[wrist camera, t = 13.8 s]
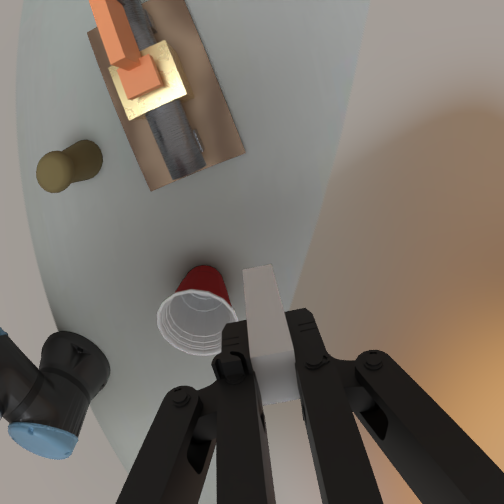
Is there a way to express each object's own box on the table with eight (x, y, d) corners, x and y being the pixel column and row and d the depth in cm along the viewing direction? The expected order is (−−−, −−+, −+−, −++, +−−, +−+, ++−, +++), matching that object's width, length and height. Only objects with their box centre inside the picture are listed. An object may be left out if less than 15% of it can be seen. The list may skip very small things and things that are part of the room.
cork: (64, 144, 40) (25, 156, 30) (99, 135, 40) (64, 144, 30) (71, 183, 43) (35, 203, 33) (106, 175, 43) (73, 194, 33)
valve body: (170, 175, 42) (158, 188, 35) (110, 25, 33) (87, 11, 25) (218, 155, 42) (215, 164, 34) (156, 3, 32) (142, -17, 25)
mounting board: (153, 189, 44) (150, 191, 43) (90, 34, 34) (86, 32, 33) (245, 151, 43) (245, 152, 42) (180, -9, 33) (178, -12, 31)
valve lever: (166, 86, 30) (146, 78, 23) (135, 100, 30) (109, 97, 23) (123, -27, 24) (99, -55, 16) (95, -12, 24) (65, -36, 16)
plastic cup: (156, 268, 50) (138, 311, 39) (216, 238, 48) (213, 276, 37) (192, 319, 54) (184, 368, 43) (249, 293, 52) (254, 341, 41)
